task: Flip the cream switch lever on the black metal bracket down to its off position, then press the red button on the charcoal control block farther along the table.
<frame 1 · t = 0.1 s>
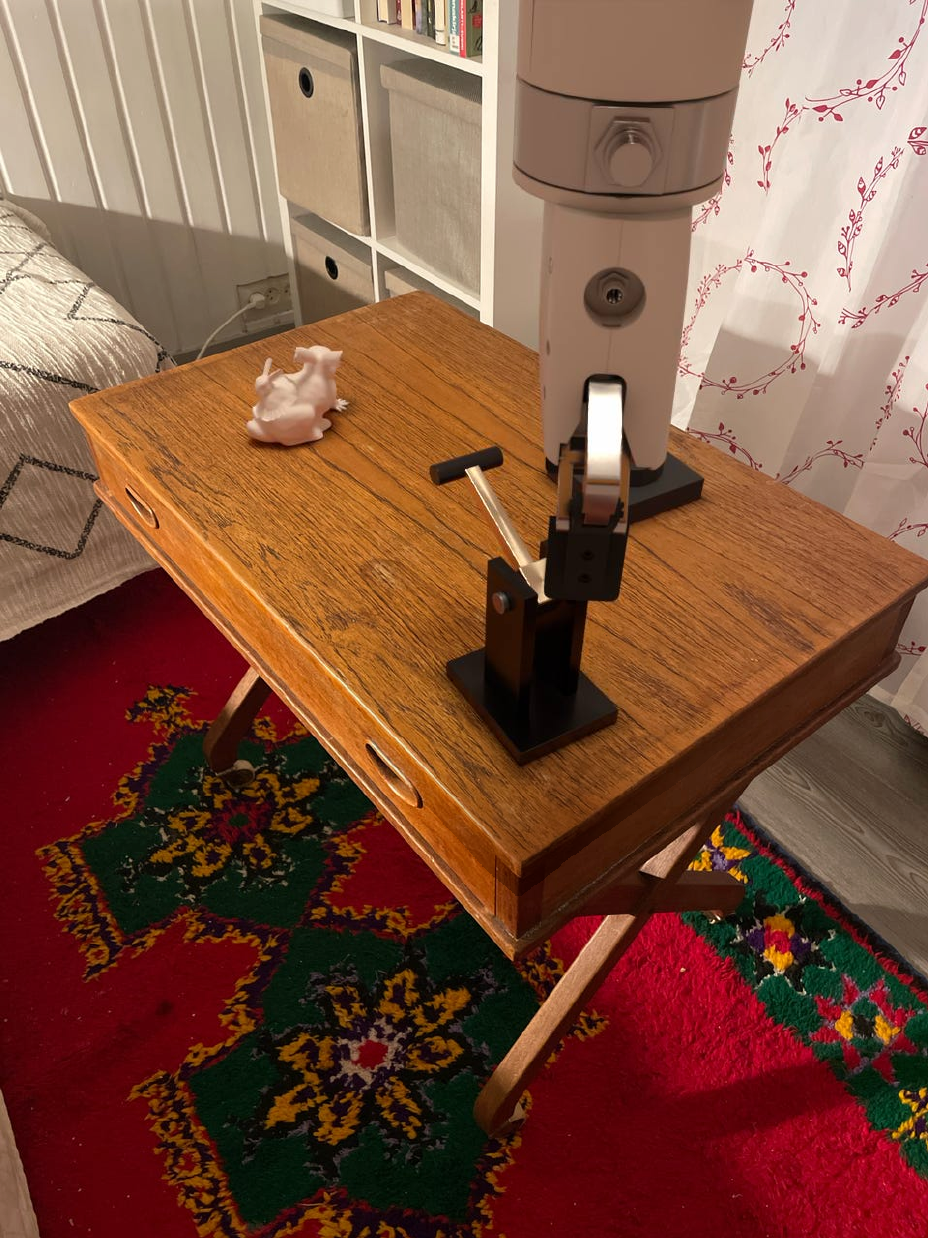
hand: (578, 528, 45), 23 cm above the table, tool pointing down, fingers open, 9 cm apart
switch bracket: (529, 697, 69), on the table
button: (628, 444, 86), point 4 cm above the table, slide at 0.1 cm
control block: (622, 487, 89), on the table
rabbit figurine: (310, 433, 95), on the table
lever: (503, 529, 63), point 12 cm above the table, hinge at 25.0°
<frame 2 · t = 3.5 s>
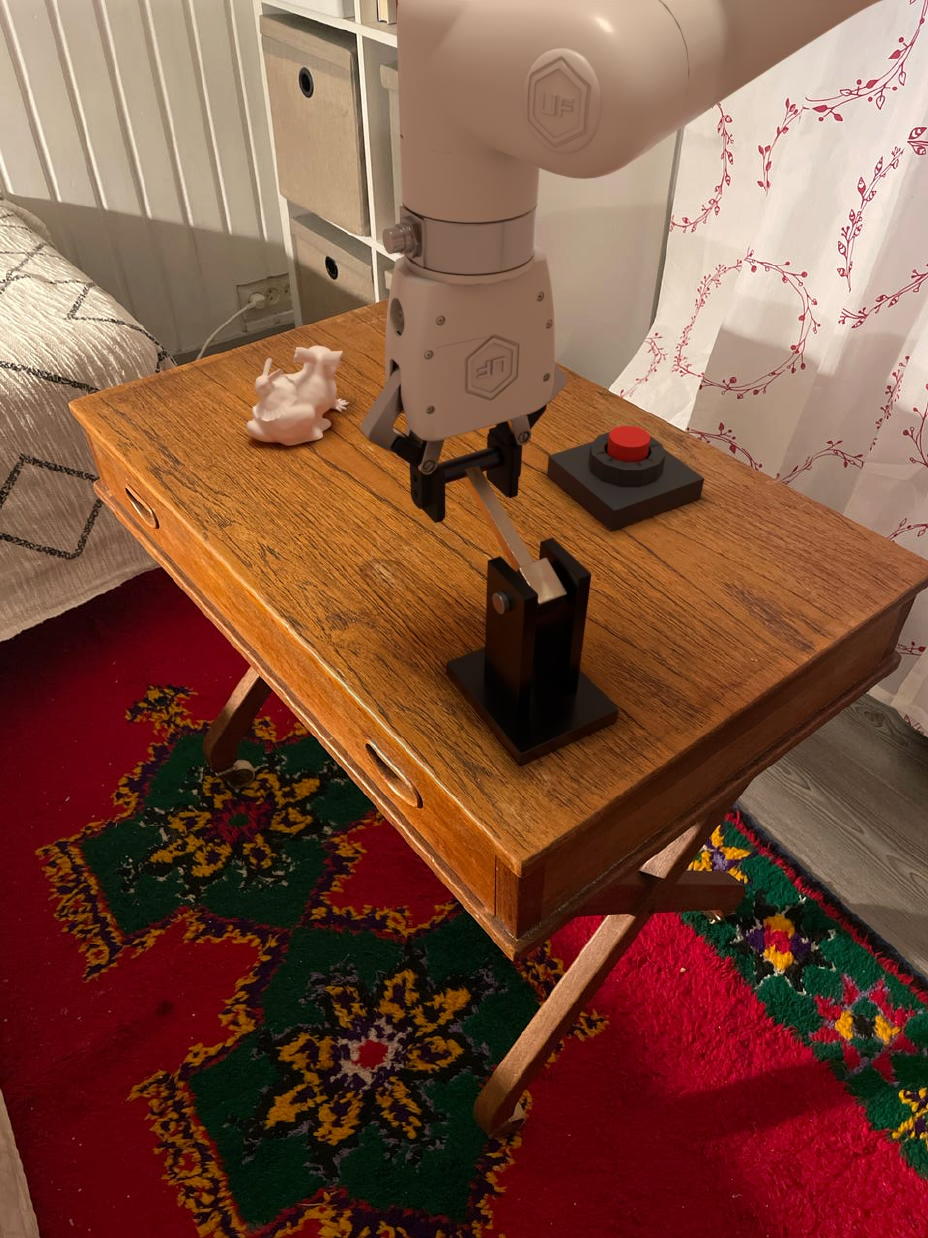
hand: (466, 497, 67), 12 cm above the table, tool pointing down, fingers closed on lever, 5 cm apart
lever: (503, 529, 63), point 12 cm above the table, hinge at 25.0°, touching gripper
everything else where it was.
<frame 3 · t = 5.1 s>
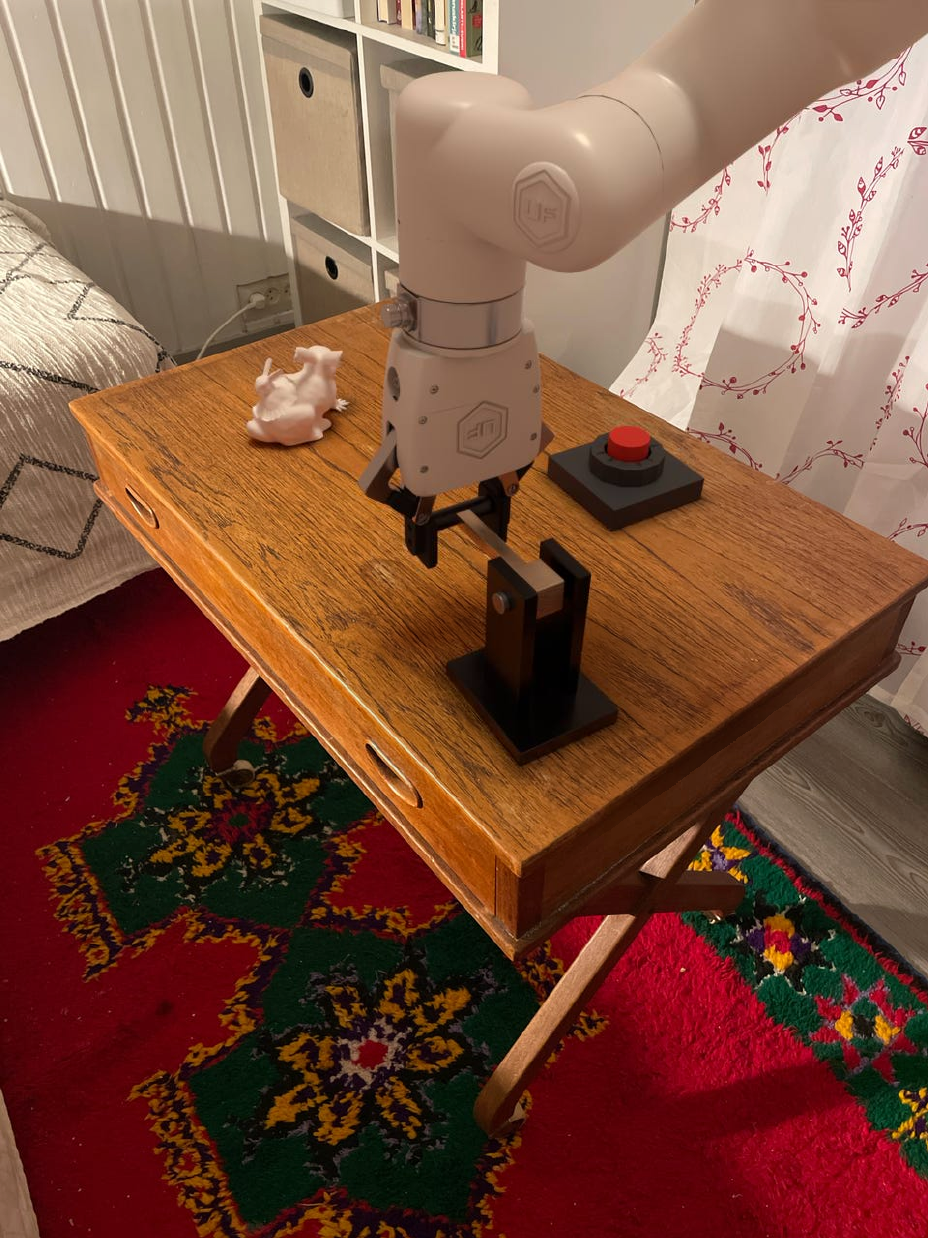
hand: (457, 543, 71), 7 cm above the table, tool pointing down, fingers closed on lever, 5 cm apart
lever: (499, 551, 65), point 10 cm above the table, hinge at -1.7°, touching gripper
everything else where it was.
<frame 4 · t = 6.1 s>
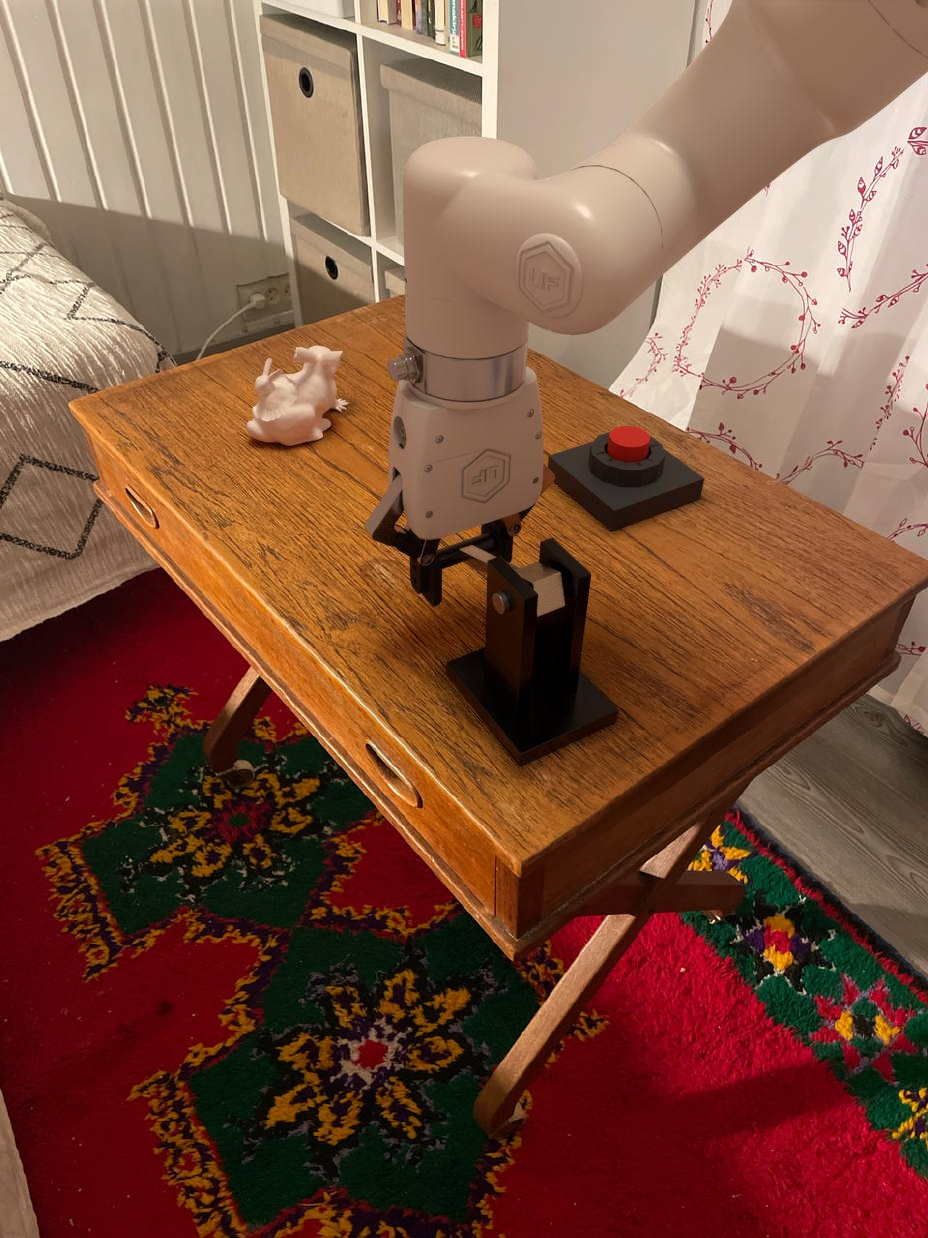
hand: (461, 581, 72), 4 cm above the table, tool pointing down, fingers closed on lever, 5 cm apart
lever: (500, 570, 66), point 8 cm above the table, hinge at -19.3°, touching gripper
everything else where it was.
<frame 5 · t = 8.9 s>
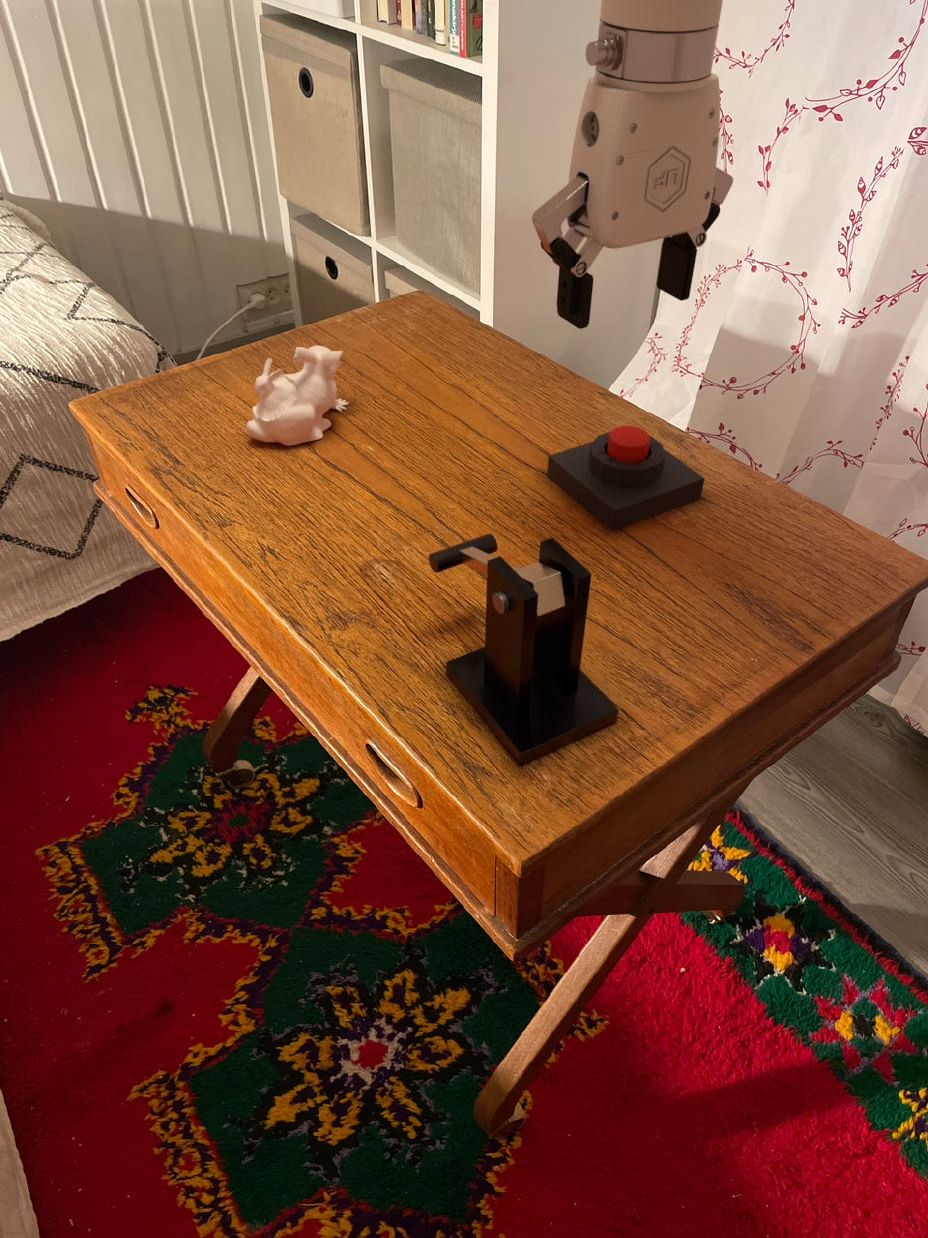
hand: (623, 307, 74), 18 cm above the table, tool pointing down, fingers open, 9 cm apart
lever: (500, 570, 66), point 8 cm above the table, hinge at -19.9°
everything else where it was.
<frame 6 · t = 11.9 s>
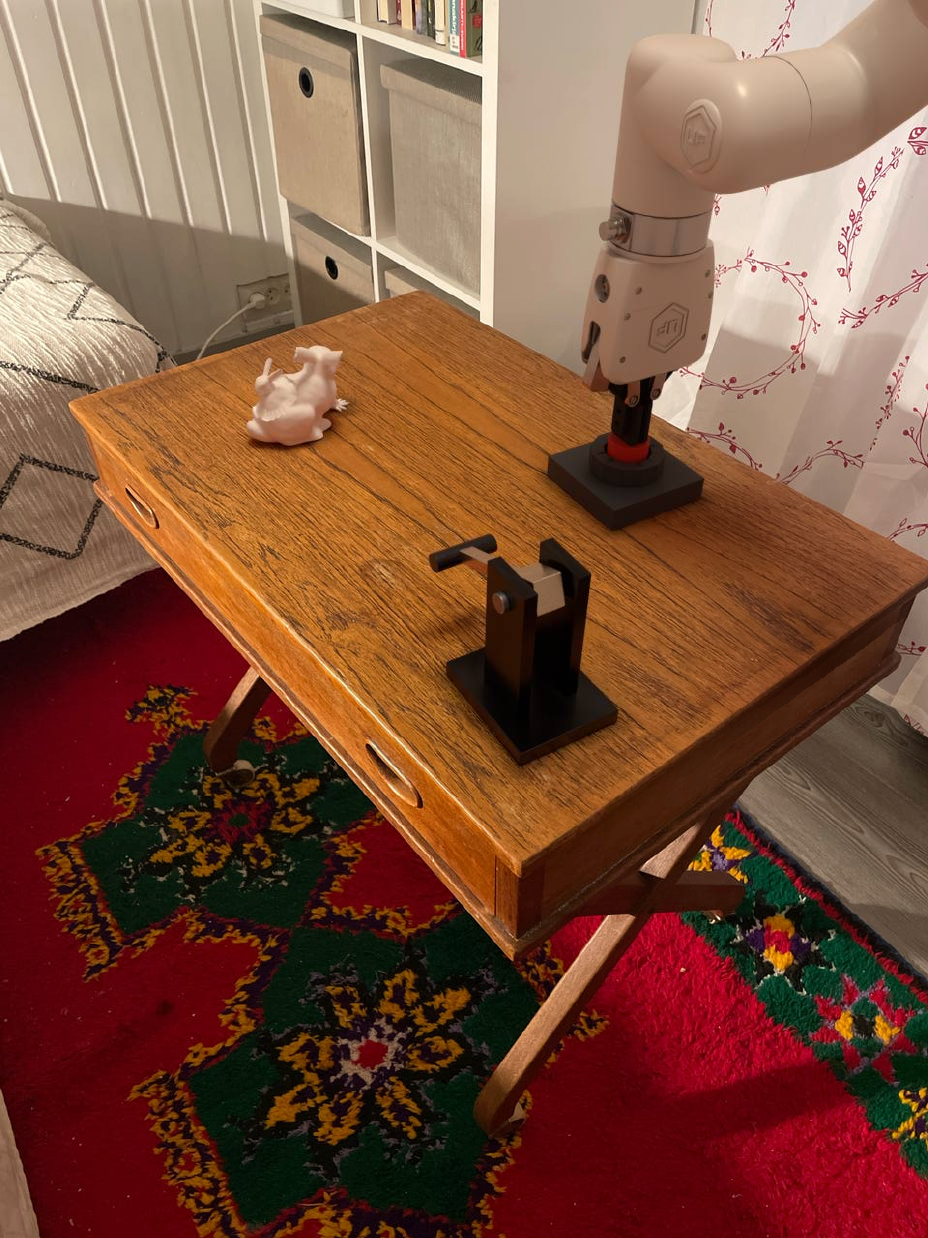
hand: (628, 436, 85), 5 cm above the table, tool pointing down, fingers closed
button: (628, 446, 86), point 4 cm above the table, slide at -0.1 cm, touching gripper
everything else where it was.
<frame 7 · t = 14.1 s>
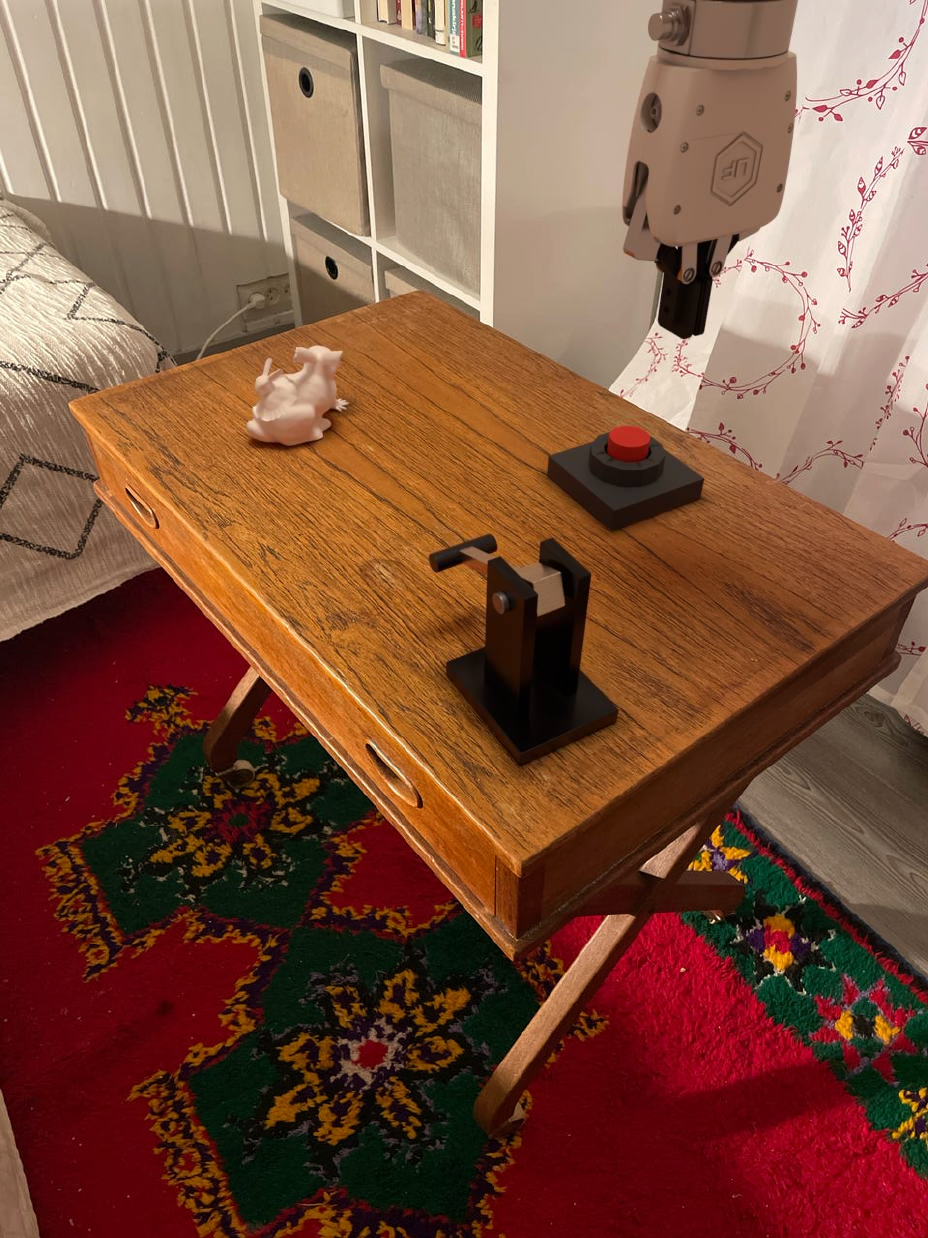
hand: (680, 329, 68), 20 cm above the table, tool pointing down, fingers closed
button: (628, 444, 86), point 4 cm above the table, slide at 0.1 cm
everything else where it was.
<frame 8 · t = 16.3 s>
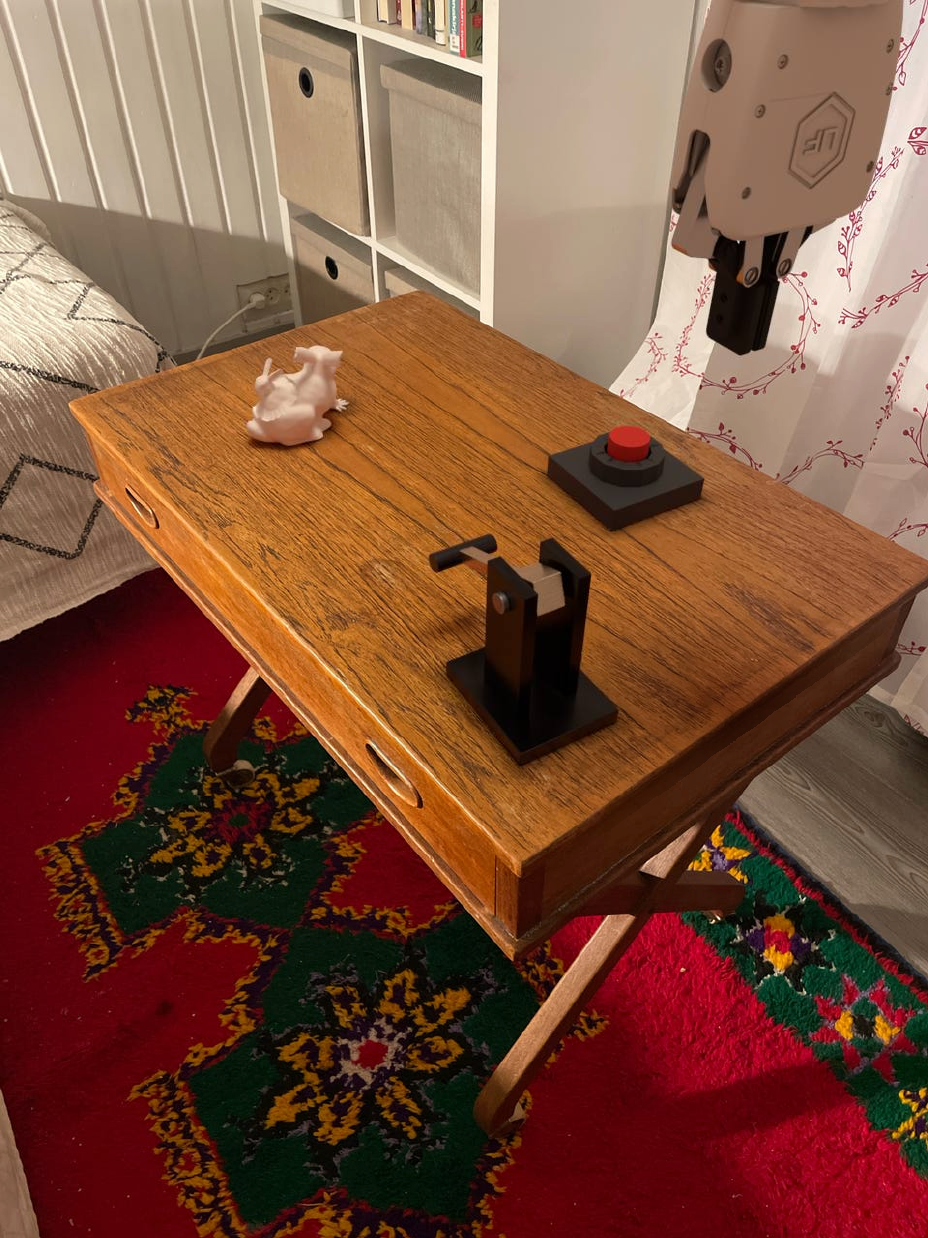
hand: (734, 342, 55), 25 cm above the table, tool pointing down, fingers closed
nothing on the table moved.
at the end: lever at -20° (first picture: +25°); button pushed in 1.1 cm at the most during the clip, back to where it started at the end; button slide at 0.1 cm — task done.
